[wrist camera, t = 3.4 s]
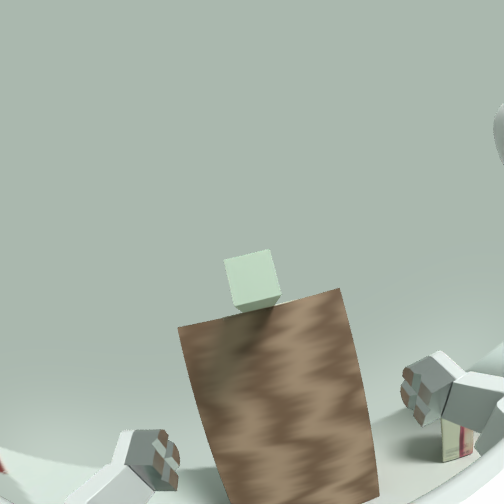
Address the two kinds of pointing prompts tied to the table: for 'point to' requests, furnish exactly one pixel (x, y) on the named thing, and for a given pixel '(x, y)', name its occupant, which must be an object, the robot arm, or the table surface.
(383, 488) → the table surface
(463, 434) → the small box
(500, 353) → the table surface
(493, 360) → the table surface
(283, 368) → the stand
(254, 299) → the bar
